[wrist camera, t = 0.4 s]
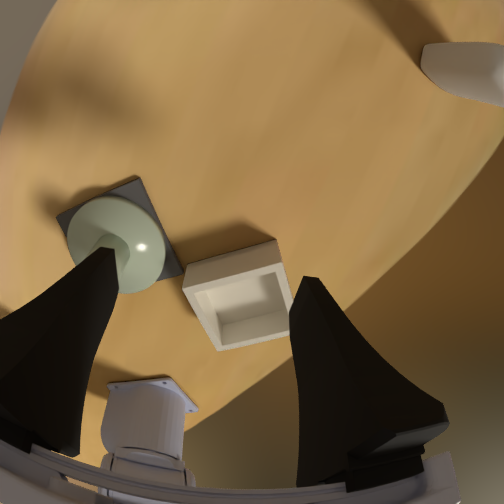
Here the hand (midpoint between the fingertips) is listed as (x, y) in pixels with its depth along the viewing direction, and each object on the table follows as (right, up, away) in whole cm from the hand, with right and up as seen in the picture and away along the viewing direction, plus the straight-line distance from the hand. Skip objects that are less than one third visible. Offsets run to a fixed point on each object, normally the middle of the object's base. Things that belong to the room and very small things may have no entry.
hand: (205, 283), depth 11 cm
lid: (-8, +2, +10) cm, 13 cm away
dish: (+1, -2, +13) cm, 13 cm away
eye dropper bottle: (+16, +15, +4) cm, 22 cm away
